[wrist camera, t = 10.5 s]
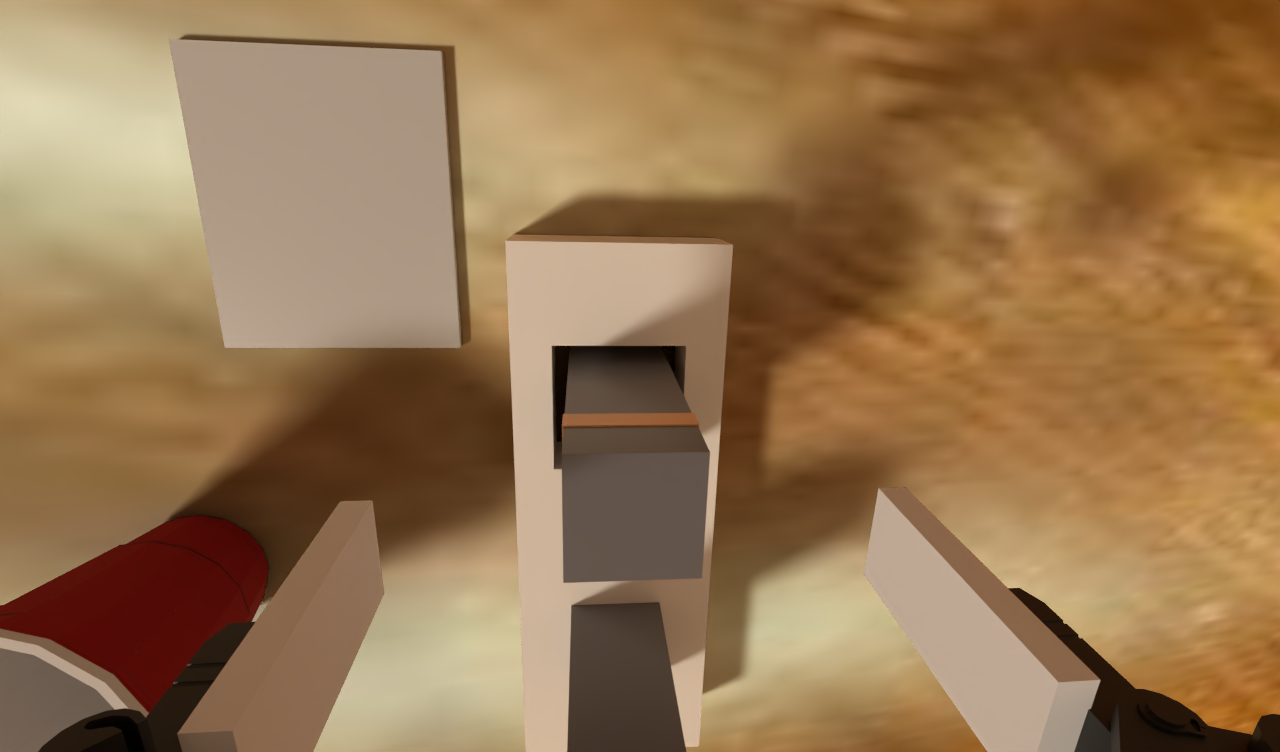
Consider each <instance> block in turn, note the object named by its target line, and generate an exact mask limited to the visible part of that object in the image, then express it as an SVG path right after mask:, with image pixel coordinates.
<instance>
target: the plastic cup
mask: <svg viewBox="0 0 1280 752" xmlns="http://www.w3.org/2000/svg"><path fill="white" fill-rule="evenodd" d="M268 571H269V567H268V564H267V561H266V558H265V555H264V552H263V549H262V548H261V547H260V545H259V544H258V543H257V542H256V541H255V540H254V539H253V537H252V536H251V535H250V534H249V533H248V532H247V531H245V530H243V529H241V528H240V527H238V526H236V525H234V524H232V523H231V522H229V521H227V520H224V519H219V518H214V517H209V516H204V515H198V516H190V517H182V518H177V519H175V520H173V521H169V522H165V523H163V524H162V525H160V526H158V527H156V528H154V529H152V530H151V531H149V532H147V533H145V534H143V535H142V536H140V537H138V538H136V539H134V540H133V541H131V542H129V543H127V544H124V545H119V546H117V547H115V548H113V549H111V550H109V551H107V552H106V553H104V554H102V555H100V556H98V557H96V558H94V559H92V560H90V561H88V562H86V563H84V564H82V565H80V566H78V567H77V568H75V569H73V570H71V571H69V572H67V573H65V574H63V575H61V576H59V577H57V578H55V579H53V580H51V581H49V582H47V583H46V584H44V585H42V586H40V587H38V588H36V589H34V590H32V591H30V592H28V593H26V594H24V595H22V596H20V597H18V598H17V599H15V600H13V601H11V602H9V603H7V604H5V605H1V606H0V752H38V751H39V750H40V748H41V747H42V746H43V745H44V744H46V743H47V742H48V741H49V740H51V739H52V738H53V737H54V736H56V735H57V734H58V733H59V732H61V731H62V730H64V729H66V728H68V727H69V726H71V725H73V724H75V723H77V722H78V721H80V720H82V719H84V718H87V717H90V716H93V715H95V714H98V713H101V712H104V711H108V710H116V709H123V708H127V709H132V710H137V711H140V712H141V713H142V714H143V715H144V716H145V717H147V715H148V714H149V713H150V711H151V710H152V709H153V708H154V706H155V705H156V704H157V702H158V701H159V700H160V699H161V697H162V696H163V695H164V693H165V692H166V691H167V690H168V688H169V687H172V686H173V682H174V681H175V679H176V678H177V677H178V675H179V674H180V673H181V672H182V670H183V669H185V668H187V664H188V663H189V661H190V660H191V659H192V657H193V656H194V655H195V654H196V652H197V651H198V650H199V648H200V647H201V646H202V645H203V643H204V642H205V641H207V640H208V639H209V638H211V637H212V636H213V635H215V634H216V633H217V632H219V631H220V630H221V629H223V628H224V627H225V626H227V625H228V624H229V623H240V622H252V620H253V618H254V616H255V614H256V612H257V610H258V607H259V605H260V603H261V601H262V599H263V597H264V592H265V588H266V584H267V578H268Z"/></svg>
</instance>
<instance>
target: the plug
mask: <svg viewBox="0 0 1280 752" xmlns="http://www.w3.org/2000/svg"><path fill="white" fill-rule="evenodd" d="M561 455H562V524H563V583H577V582H607V581H638V580H668V579H699V578H702V571H703V556H704V540H705V524H706V509H707V493H708V477H709V462H710V451H709V449H708V447H707V444H706V442H705V440H704V438H703V436H702V434H701V432H700V429H699V422H698V420H697V418H696V416H695V414H694V413H692V412H691V410H690V408H689V406H688V404H687V401H686V399H685V397H684V395H683V393H682V391H681V389H680V386H679V384H678V382H677V380H676V378H675V376H674V374H673V371H672V369H671V367H670V365H669V363H668V361H667V358H666V356H665V354H664V352H663V350H662V348H661V346H570V351H569V364H568V377H567V390H566V403H565V414H563V419H562V454H561Z"/></svg>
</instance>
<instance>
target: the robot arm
mask: <svg viewBox="0 0 1280 752" xmlns="http://www.w3.org/2000/svg"><path fill="white" fill-rule="evenodd" d="M864 575H865V577H866V578H867V580H868V581H869V583H870V584H871V585H872V587H873V588H874V590H875V591H876V593H877V594H878V595H879V597H880V598H881V600H882V601H883V603H884V604H885V606H886V607H887V608H888V610H889V611H890V613H891V614H892V616H893V617H894V618H895V620H896V621H897V623H898V624H899V626H900V627H901V628H902V630H903V631H904V633H905V634H906V636H907V637H908V639H909V640H910V641H911V643H912V644H913V646H914V647H915V649H916V650H917V651H918V653H919V654H920V656H921V657H922V659H923V660H924V661H925V663H926V664H927V666H928V667H929V669H930V670H931V672H932V673H933V674H934V676H935V677H936V679H937V680H938V682H939V683H940V684H941V686H942V687H943V689H944V690H945V692H946V693H947V694H948V696H949V697H950V699H951V700H952V702H953V703H954V704H955V706H956V707H957V709H958V710H959V712H960V713H961V715H962V716H963V717H964V719H965V720H966V722H967V723H968V725H969V726H970V727H971V729H972V730H973V732H974V733H975V735H976V736H977V737H978V739H979V740H980V742H981V743H982V745H983V746H984V748H985V749H986V750H987V752H1280V715H1277V714H1270V715H1265V716H1261V718H1260V720H1259V722H1258V723H1257V726H1256V728H1255V730H1254V732H1253V735H1251V734H1246V733H1241V732H1236V731H1230V730H1225V729H1220V728H1215V727H1210V726H1208V725H1207V724H1206V723H1205V722H1204V721H1203V720H1202V719H1201V718H1200V717H1199V716H1198V715H1197V714H1196V713H1194V712H1193V711H1191V710H1190V709H1188V708H1187V707H1185V706H1184V705H1182V704H1181V703H1179V702H1177V701H1175V700H1173V699H1171V698H1169V697H1167V696H1165V695H1163V694H1160V693H1156V692H1152V691H1149V690H1145V689H1135V688H1134V687H1133V686H1132V685H1131V684H1130V683H1129V682H1128V681H1127V680H1126V679H1125V678H1124V677H1123V676H1121V675H1120V674H1119V673H1118V672H1117V671H1116V670H1115V669H1114V668H1113V667H1112V666H1111V665H1110V664H1109V663H1108V662H1107V661H1106V660H1104V659H1103V658H1102V657H1101V656H1100V655H1099V654H1098V653H1097V652H1096V651H1095V650H1094V649H1093V648H1092V647H1091V646H1090V645H1089V644H1087V643H1086V642H1085V641H1084V640H1083V639H1082V638H1080V639H1079V637H1078V634H1077V633H1076V632H1075V631H1074V630H1073V629H1072V628H1070V627H1069V626H1068V625H1067V624H1064V623H1063V620H1062V619H1061V618H1060V617H1059V616H1058V615H1057V614H1056V613H1055V612H1053V611H1052V610H1051V609H1050V608H1049V607H1048V606H1047V605H1046V604H1045V603H1044V602H1042V601H1040V600H1039V599H1037V598H1035V597H1034V596H1032V595H1030V594H1029V593H1027V592H1025V591H1024V590H1022V589H1020V588H1009V589H1008V588H1007V587H1006V586H1005V585H1004V584H1003V583H1002V582H1001V581H1000V580H999V579H998V578H997V577H996V576H995V575H994V574H993V573H992V572H991V571H990V570H989V569H988V568H987V567H986V566H985V565H984V564H983V563H982V562H981V561H980V560H979V559H978V558H977V557H976V556H975V555H974V554H973V553H972V552H971V551H970V550H969V549H967V548H966V547H965V546H964V545H963V544H962V543H961V542H960V541H959V540H958V539H957V538H956V537H955V536H954V535H953V534H952V533H951V532H950V531H949V530H948V529H947V528H946V527H945V526H944V525H943V524H942V523H941V522H940V521H939V520H938V519H937V518H936V517H935V516H934V515H933V514H932V513H931V512H930V511H929V510H928V509H927V508H926V507H925V506H924V505H923V504H922V503H921V502H920V501H919V500H918V499H917V498H916V497H915V496H914V495H913V494H912V493H911V492H910V491H909V490H908V489H907V488H906V487H902V488H878V494H877V500H876V506H875V512H874V517H873V523H872V529H871V535H870V541H869V547H868V553H867V559H866V565H865V571H864ZM383 595H384V587H383V579H382V571H381V564H380V556H379V548H378V540H377V532H376V524H375V516H374V508H373V501H372V500H369V501H340V502H339V504H338V505H337V507H336V508H335V509H334V511H333V512H332V514H331V515H330V517H329V518H328V519H327V521H326V522H325V524H324V525H323V527H322V528H321V529H320V531H319V532H318V534H317V535H316V537H315V538H314V539H313V541H312V542H311V544H310V545H309V547H308V548H307V549H306V551H305V552H304V554H303V555H302V557H301V558H300V559H299V561H298V562H297V564H296V565H295V567H294V568H293V569H292V571H291V572H290V574H289V575H288V577H287V578H286V579H285V581H284V582H283V584H282V585H281V587H280V588H279V589H278V591H277V592H276V594H275V595H274V597H273V598H272V599H271V601H270V602H269V604H268V605H267V606H266V608H265V609H264V611H263V612H262V614H261V615H260V616H259V618H258V619H257V621H256V622H240V623H229V624H228V625H227V626H225V627H224V628H223V629H221V630H220V631H219V632H217V633H216V634H215V635H213V636H212V637H211V638H209V639H208V640H207V641H205V642H204V643H203V645H202V646H201V647H200V648H199V650H198V651H197V652H196V654H195V655H194V656H193V657H192V659H191V660H190V661H189V663H188V664H187V668H185V669H183V670H182V672H181V673H180V674H179V675H178V677H177V678H176V679H175V681H174V682H173V686H172V687H169V688H168V690H167V691H166V692H165V693H164V695H163V696H162V697H161V699H160V700H159V701H158V702H157V704H156V705H155V706H154V708H153V709H152V710H151V711H150V713H149V714H148V715H147V717H145V716H144V715H143V714H142V713H141V712H140V711H137V710H132V709H127V708H123V709H116V710H108V711H104V712H101V713H98V714H95V715H93V716H90V717H87V718H84V719H82V720H80V721H78V722H77V723H75V724H73V725H71V726H69V727H68V728H66V729H64V730H62V731H61V732H59V733H58V734H57V735H56V736H54V737H53V738H52V739H51V740H49V741H48V742H47V743H46V744H44V745H43V746H42V747H41V748H40V750H39V751H38V752H313V751H314V748H315V746H316V744H317V742H318V739H319V737H320V735H321V733H322V731H323V728H324V726H325V724H326V722H327V719H328V717H329V715H330V713H331V710H332V708H333V706H334V704H335V702H336V699H337V697H338V695H339V693H340V690H341V688H342V686H343V684H344V682H345V679H346V677H347V675H348V673H349V670H350V668H351V666H352V664H353V661H354V659H355V657H356V655H357V653H358V650H359V648H360V646H361V644H362V641H363V639H364V637H365V635H366V633H367V630H368V628H369V626H370V624H371V621H372V619H373V617H374V615H375V612H376V610H377V608H378V606H379V604H380V601H381V599H382V597H383Z"/></svg>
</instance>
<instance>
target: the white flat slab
mask: <svg viewBox="0 0 1280 752" xmlns="http://www.w3.org/2000/svg"><path fill="white" fill-rule="evenodd" d="M169 43H170V49H171V54H172V60H173V65H174V71H175V76H176V82H177V87H178V93H179V98H180V104H181V109H182V115H183V120H184V126H185V131H186V137H187V142H188V148H189V153H190V159H191V164H192V170H193V175H194V181H195V186H196V192H197V197H198V203H199V208H200V214H201V219H202V225H203V230H204V236H205V241H206V246H207V252H208V257H209V263H210V268H211V274H212V279H213V285H214V290H215V296H216V301H217V307H218V312H219V318H220V323H221V329H222V334H223V340H224V345H225V348H461V346H462V338H461V323H460V307H459V291H458V275H457V260H456V244H455V228H454V212H453V197H452V181H451V165H450V150H449V134H448V118H447V102H446V87H445V71H444V55H443V52H442V51H432V50H409V49H386V48H363V47H340V46H317V45H294V44H271V43H248V42H225V41H202V40H179V39H169Z"/></svg>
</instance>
